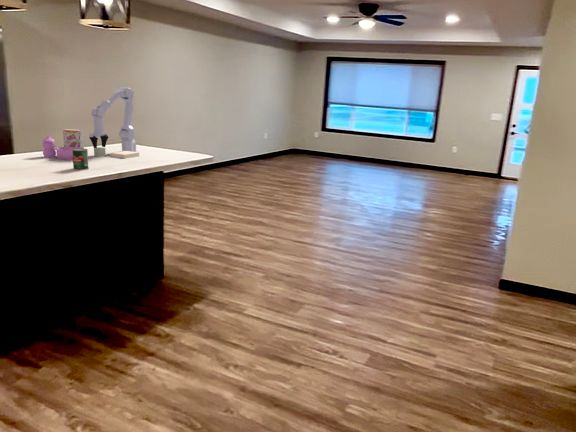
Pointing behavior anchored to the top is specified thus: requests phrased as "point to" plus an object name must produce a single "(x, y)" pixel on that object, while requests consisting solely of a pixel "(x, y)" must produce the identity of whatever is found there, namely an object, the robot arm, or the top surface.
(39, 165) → the top surface
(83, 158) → the canned tomato
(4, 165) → the top surface
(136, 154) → the cream block
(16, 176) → the top surface
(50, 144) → the container set
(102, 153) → the sage cube
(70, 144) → the candy bar box
